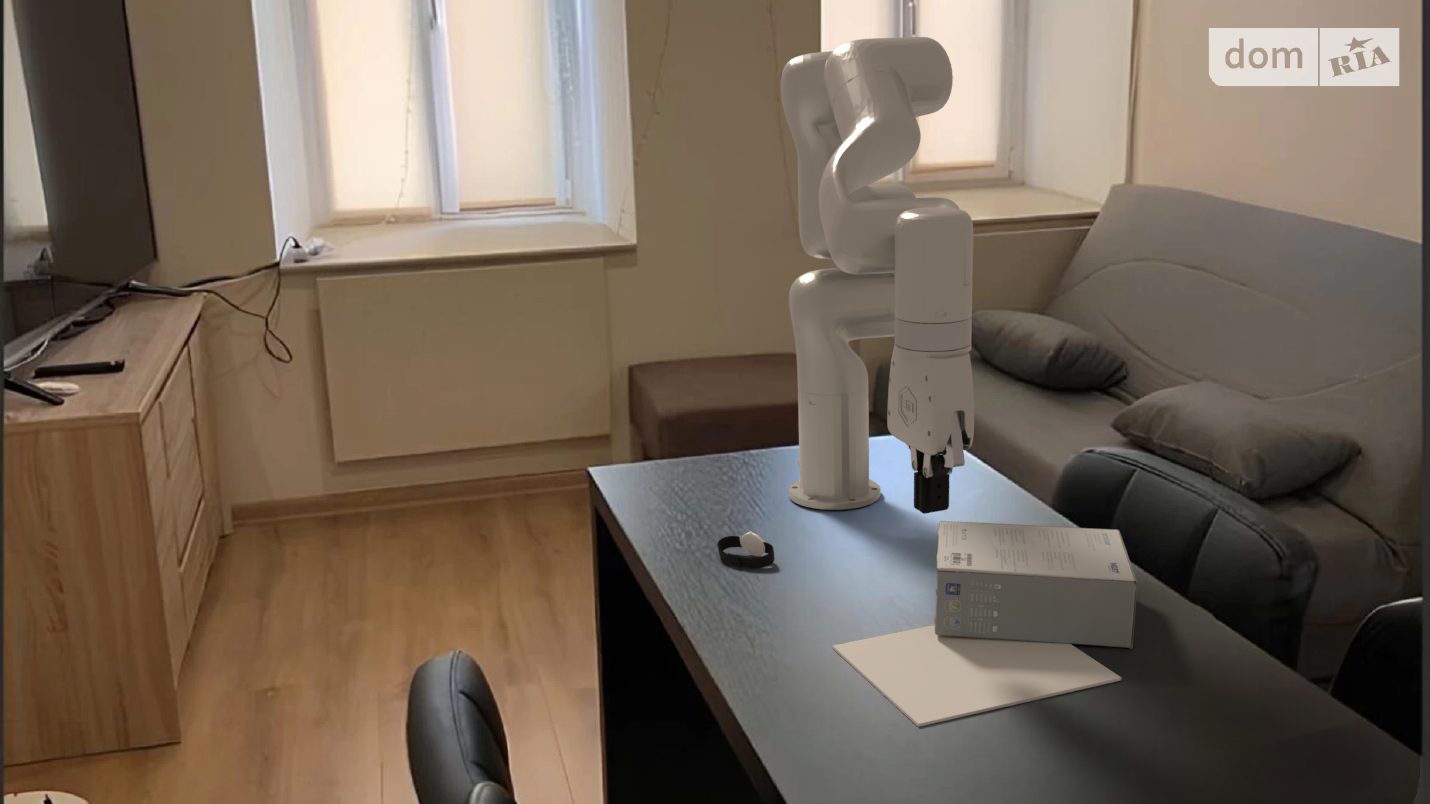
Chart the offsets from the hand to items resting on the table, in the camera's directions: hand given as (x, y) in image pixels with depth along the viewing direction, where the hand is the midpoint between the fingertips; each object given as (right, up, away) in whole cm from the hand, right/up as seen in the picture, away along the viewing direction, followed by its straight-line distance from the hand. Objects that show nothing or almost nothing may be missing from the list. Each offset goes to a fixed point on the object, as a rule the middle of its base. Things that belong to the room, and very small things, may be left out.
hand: (931, 508), depth 134 cm
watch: (-18, -9, +25) cm, 32 cm away
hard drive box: (+1, -8, +7) cm, 11 cm away
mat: (+3, -15, -4) cm, 16 cm away
